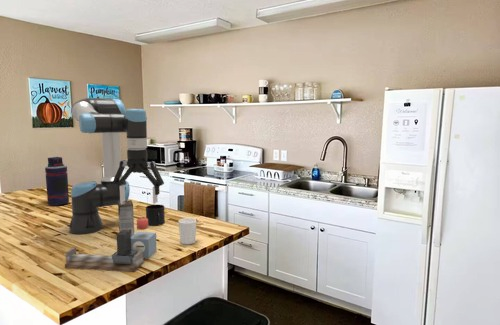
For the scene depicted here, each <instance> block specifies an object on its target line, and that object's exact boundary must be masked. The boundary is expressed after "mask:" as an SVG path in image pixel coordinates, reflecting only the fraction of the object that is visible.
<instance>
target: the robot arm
mask: <svg viewBox="0 0 500 325" xmlns="http://www.w3.org/2000/svg"><path fill="white" fill-rule="evenodd" d="M70 113H71V116H72V117H73V119H74V120H76V121H78V126H79V131H80V132H81V133H83V134H101V144H102V145H101V146H102V163H103V166H102V167H103V177H102V178H101V180H100V183H98V182H97V181H94V180H91V181H90V180H89V181H84V182H79V183H77V184H74V185H73V186H72V187H71V189H70V197H71V211H72V212H71V214H72V217H71V220H70V222H69V226H68V229H69V233H71V234H74V235H83V234H84V235H86V234H92V233H96V232H98V231H100V230H102V229H104V228H103V227H104V223H103V221H102V218H101V216H100V213H99V208H103V207H109V206H110V207H111V206H118V201H120V202H123V201H129V198H130V191H131V190H130V189H131V187H130V183H129V182H128V181H126V180H127V179H128V178H129V177H130V176H131V175H132V173H134V174H135V173H139V174H141V173H142V174H143V175H144V176H146V178H147V179H148V180H149V182H150V183H151V184H152V185H153V187H152V205H156V204H158V196H159V195H160V187H161V186H163V185H164V184H165V182H164V179H163V178H162V176H161V174H160V172H159V170H158V168H157V163H156V161H155V160H154V161H153V160H152V161H148V149H147V148H148V137H147V136H148V132H147V131H148V129H147V126H148V125H147V119H148V118H147V111H146V109H143V108H127V109H126V108H125V104H124V103H123V101H122V100H121V99H119V98H118V99H117V98H102V97H101V98H99V97H95V98H94V97H87V98H81V99H79V100H77V101H75V102H74V103H73V104H72V106H71V109H70ZM121 133H126V148H127V149H126V158H127V160H125V159H123V160H122V150H121V145H122V144H121ZM126 166H127V167H128V168H127V170H126V171H125V172H124V170H125V168H126ZM148 167H149V168H150V170H151V172H150V170H149V169H148ZM123 173H124V174H123Z"/></svg>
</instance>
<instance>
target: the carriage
mask: <svg viewBox="0 0 500 325" xmlns="http://www.w3.org/2000/svg"><path fill="white" fill-rule="evenodd" d="M136 254H137V250H131V230H122V231H120V232H119V231H118V233H117V234H116V251H115V252H114V253H112V255H111V256H112V260H113V263H115V264H132V258H133V257H134V256H135V255H136Z"/></svg>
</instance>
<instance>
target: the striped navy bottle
mask: <svg viewBox="0 0 500 325" xmlns="http://www.w3.org/2000/svg"><path fill="white" fill-rule="evenodd" d="M44 170H45V171H44V172H45V184H46V200H47V204H48V206H54V207H59V205H60V206H61V205H64V204H66V205H68V204H69V202H70V195H69V193H70V192H69V182H68V181H69V180H68V179H69V178H68V166H66V165H65V164H64V162H63V157H61V156H53V157H47V166H46V167H45V168H44Z"/></svg>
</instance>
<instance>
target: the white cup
mask: <svg viewBox="0 0 500 325" xmlns="http://www.w3.org/2000/svg"><path fill="white" fill-rule="evenodd" d="M178 230H179V231H178V233H179V239H180V240H179V242H180V244H182V245H192V244H195V243H196V238H197V237H196V236H197V219H196V218H193V217H185V218H181V219H178Z"/></svg>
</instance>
